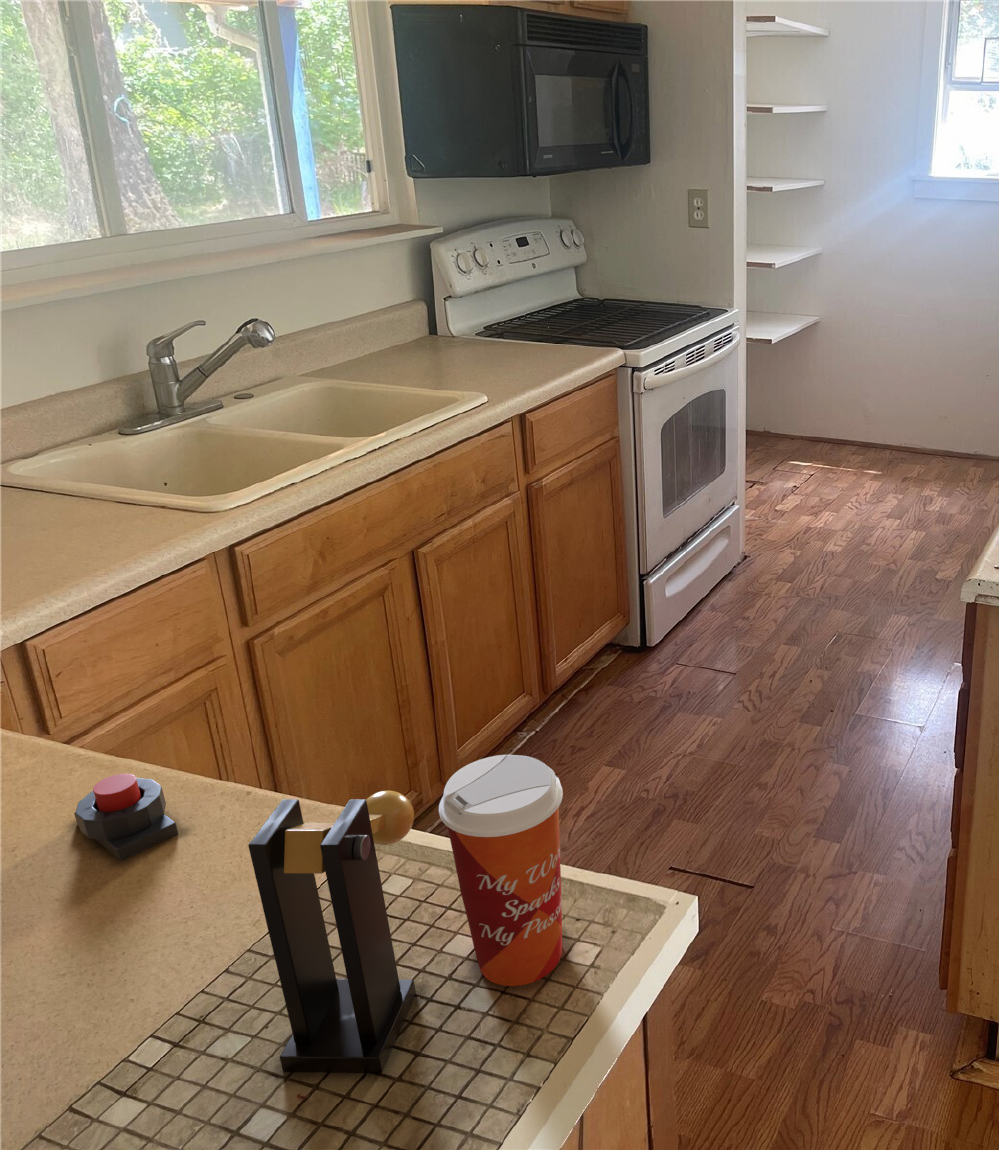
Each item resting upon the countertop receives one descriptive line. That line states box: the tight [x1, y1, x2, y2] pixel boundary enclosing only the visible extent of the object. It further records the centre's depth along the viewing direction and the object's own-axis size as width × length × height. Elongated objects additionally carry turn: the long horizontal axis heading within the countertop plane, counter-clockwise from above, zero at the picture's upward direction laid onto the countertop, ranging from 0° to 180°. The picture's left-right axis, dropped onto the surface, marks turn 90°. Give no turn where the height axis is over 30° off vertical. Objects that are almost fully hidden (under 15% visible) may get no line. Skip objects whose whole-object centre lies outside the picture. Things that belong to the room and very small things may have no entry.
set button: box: [92, 773, 141, 812], centre depth 86 cm, size 3×3×2 cm
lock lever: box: [284, 790, 415, 875], centre depth 67 cm, size 14×4×4 cm, turn 178°
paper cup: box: [438, 754, 564, 987], centre depth 70 cm, size 8×8×14 cm
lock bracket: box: [247, 798, 417, 1074], centre depth 64 cm, size 6×6×16 cm
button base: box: [73, 777, 179, 862], centre depth 86 cm, size 8×6×3 cm
